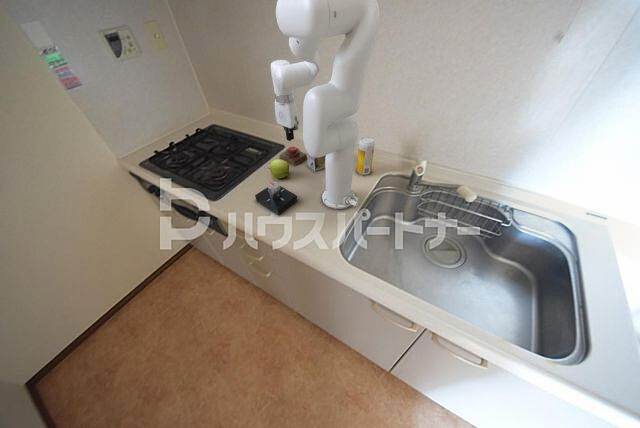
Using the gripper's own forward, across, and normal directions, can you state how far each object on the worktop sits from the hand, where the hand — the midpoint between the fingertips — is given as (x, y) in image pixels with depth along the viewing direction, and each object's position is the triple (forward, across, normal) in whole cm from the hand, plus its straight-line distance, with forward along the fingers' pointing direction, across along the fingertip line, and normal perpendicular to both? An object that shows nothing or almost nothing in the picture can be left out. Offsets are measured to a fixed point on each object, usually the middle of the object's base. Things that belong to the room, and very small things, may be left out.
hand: (290, 139), depth 108 cm
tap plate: (+9, +18, -26) cm, 33 cm away
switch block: (+10, 0, 0) cm, 10 cm away
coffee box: (+10, +14, +3) cm, 18 cm away
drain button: (+6, 0, 0) cm, 6 cm away
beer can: (+10, +34, +11) cm, 37 cm away
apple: (+10, +6, -14) cm, 18 cm away
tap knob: (+6, +17, -26) cm, 32 cm away
